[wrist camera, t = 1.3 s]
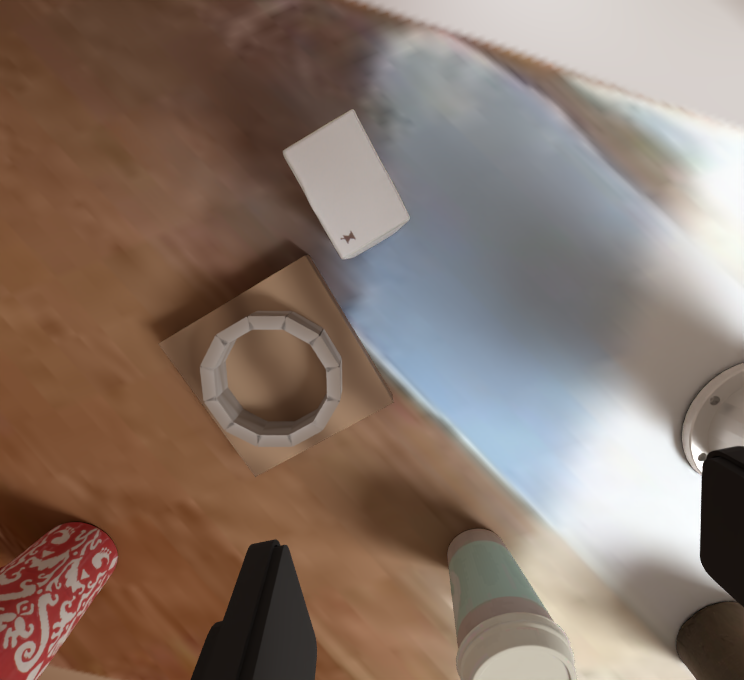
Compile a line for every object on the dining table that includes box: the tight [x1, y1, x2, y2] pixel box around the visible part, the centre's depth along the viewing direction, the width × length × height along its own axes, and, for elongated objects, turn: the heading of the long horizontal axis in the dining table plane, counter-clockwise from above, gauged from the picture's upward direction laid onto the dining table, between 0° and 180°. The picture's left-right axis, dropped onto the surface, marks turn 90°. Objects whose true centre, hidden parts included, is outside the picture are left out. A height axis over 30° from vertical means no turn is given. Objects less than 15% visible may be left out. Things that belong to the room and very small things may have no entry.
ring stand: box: [159, 255, 394, 477], centre depth 31 cm, size 14×14×4 cm
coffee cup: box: [447, 529, 577, 680], centre depth 32 cm, size 8×8×12 cm
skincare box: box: [283, 109, 410, 260], centre depth 24 cm, size 6×4×12 cm
